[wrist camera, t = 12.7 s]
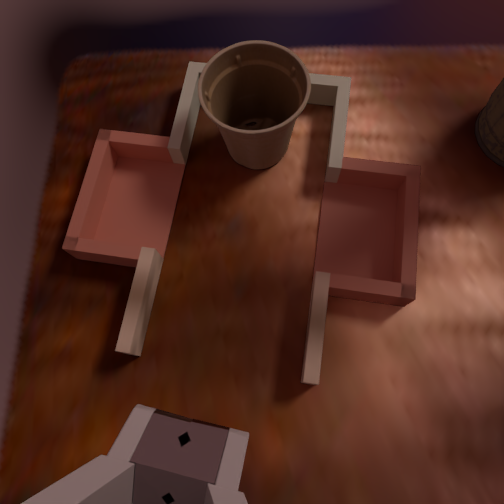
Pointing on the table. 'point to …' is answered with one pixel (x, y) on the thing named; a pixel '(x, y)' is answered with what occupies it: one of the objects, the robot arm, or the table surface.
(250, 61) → the flower pot
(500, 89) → the thermos
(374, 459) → the table surface
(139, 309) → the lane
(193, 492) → the robot arm
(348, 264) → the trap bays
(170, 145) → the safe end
